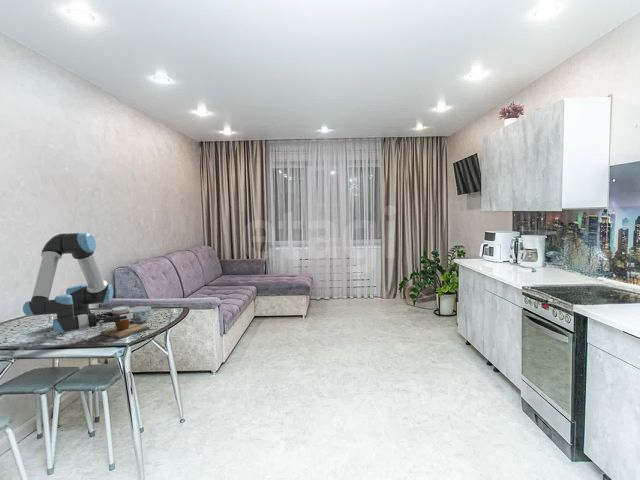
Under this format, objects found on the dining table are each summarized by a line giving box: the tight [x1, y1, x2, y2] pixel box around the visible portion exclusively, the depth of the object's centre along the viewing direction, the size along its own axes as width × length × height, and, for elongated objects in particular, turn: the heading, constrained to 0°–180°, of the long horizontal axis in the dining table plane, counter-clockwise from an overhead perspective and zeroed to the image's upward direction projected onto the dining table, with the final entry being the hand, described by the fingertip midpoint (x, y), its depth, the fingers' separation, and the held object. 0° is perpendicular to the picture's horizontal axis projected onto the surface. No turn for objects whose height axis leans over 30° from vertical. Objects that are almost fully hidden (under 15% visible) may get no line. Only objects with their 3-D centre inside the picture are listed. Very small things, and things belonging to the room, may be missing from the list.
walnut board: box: [100, 322, 150, 339], centre depth 220 cm, size 18×18×2 cm
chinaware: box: [129, 305, 152, 324], centre depth 242 cm, size 15×15×8 cm
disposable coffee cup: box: [111, 305, 131, 330], centre depth 221 cm, size 10×10×12 cm
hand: (130, 313), depth 222 cm, fingers open, 13 cm apart
